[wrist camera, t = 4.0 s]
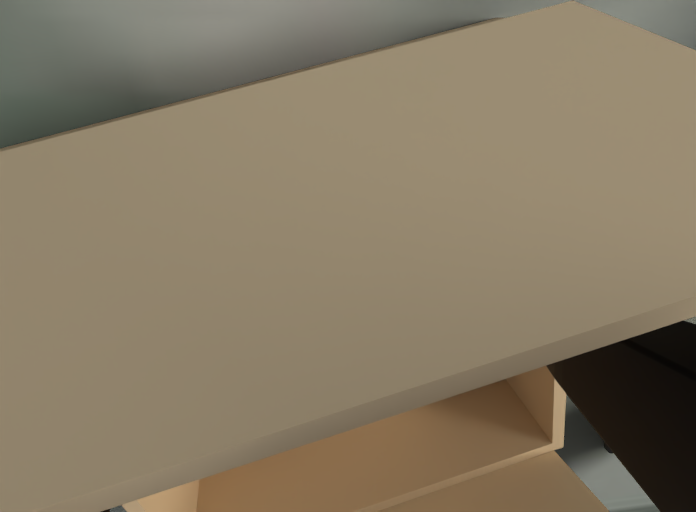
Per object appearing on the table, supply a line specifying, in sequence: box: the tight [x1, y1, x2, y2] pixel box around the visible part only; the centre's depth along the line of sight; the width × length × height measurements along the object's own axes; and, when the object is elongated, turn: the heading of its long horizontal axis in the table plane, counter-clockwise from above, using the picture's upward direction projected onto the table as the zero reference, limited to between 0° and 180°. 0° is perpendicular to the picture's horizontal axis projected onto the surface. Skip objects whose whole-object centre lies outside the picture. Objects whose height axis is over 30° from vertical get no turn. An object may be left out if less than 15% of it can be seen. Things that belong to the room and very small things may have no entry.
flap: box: [0, 1, 696, 512], centre depth 8 cm, size 9×18×1 cm
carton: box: [0, 18, 566, 512], centre depth 18 cm, size 19×19×5 cm
